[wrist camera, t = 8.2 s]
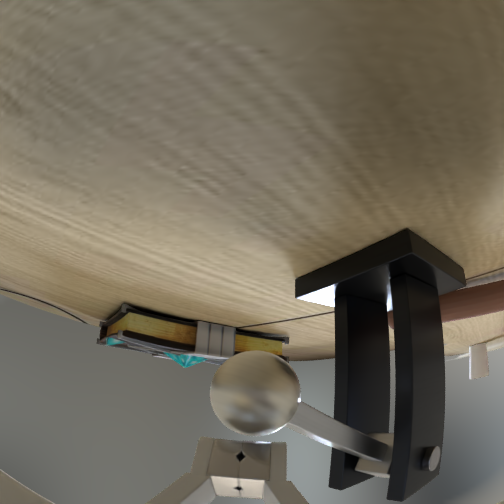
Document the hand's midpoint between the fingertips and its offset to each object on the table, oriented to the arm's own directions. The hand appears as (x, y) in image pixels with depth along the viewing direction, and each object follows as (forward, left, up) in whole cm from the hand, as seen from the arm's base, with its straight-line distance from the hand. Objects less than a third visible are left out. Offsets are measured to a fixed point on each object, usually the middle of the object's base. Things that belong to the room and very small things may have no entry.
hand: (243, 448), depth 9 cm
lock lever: (+5, 0, -1) cm, 6 cm away
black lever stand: (+9, 0, -9) cm, 13 cm away
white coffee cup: (+87, -15, -9) cm, 89 cm away
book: (+7, -28, -9) cm, 30 cm away
